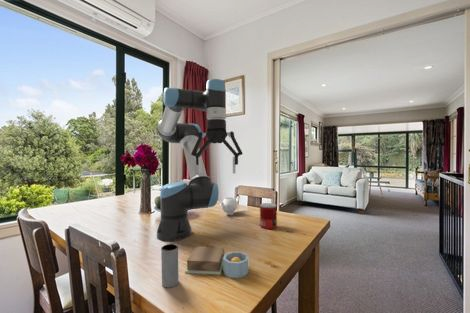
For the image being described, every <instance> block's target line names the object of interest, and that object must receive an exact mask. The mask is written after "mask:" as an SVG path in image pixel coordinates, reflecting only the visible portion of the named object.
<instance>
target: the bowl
mask: <svg viewBox="0 0 470 313" xmlns="http://www.w3.org/2000/svg"><path fill="white" fill-rule="evenodd" d="M222 270H223V274H224V276H226V277H227V278H228V279H229V278H230V279H241V278H244V277H247V275H248V274H249V254H247V253H245V252H243V251H230V252H227V253H224V258H223V268H222Z"/></svg>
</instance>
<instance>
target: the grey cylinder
mask: <svg viewBox="0 0 470 313" xmlns="http://www.w3.org/2000/svg"><path fill="white" fill-rule="evenodd" d="M160 254H161V258H160V259H161V286H162V287H164V288H166V287H167V288H173V287H175V286H177V285H178V284H179V279H180V278H179V276H180V275H179V246H178V245H177V243H167V244H164V245H162V246H161V253H160Z"/></svg>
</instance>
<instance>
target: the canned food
mask: <svg viewBox="0 0 470 313" xmlns="http://www.w3.org/2000/svg"><path fill="white" fill-rule="evenodd" d="M259 205H260V206H259V215H260V216H259V219H260V220H259V222H260V228H261V229H264V230H274V229H277V225H278V224H277V222H278V220H277V217H278V216H277V204H276V203H275V204H274V203H270V202H269V203H267V202H266V203H265V202H264V203H260V204H259Z"/></svg>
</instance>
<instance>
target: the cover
mask: <svg viewBox="0 0 470 313" xmlns="http://www.w3.org/2000/svg"><path fill="white" fill-rule="evenodd" d="M224 255H225V248H224V247H213V246H212V247H211V246H195V248H194V249H193V251H192V253H191V254H190V256H189V257H188V258H187V260H186V269H187V270H195V271H218V272H219V270H220V267H221V264H222V261H223V258H224Z"/></svg>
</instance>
